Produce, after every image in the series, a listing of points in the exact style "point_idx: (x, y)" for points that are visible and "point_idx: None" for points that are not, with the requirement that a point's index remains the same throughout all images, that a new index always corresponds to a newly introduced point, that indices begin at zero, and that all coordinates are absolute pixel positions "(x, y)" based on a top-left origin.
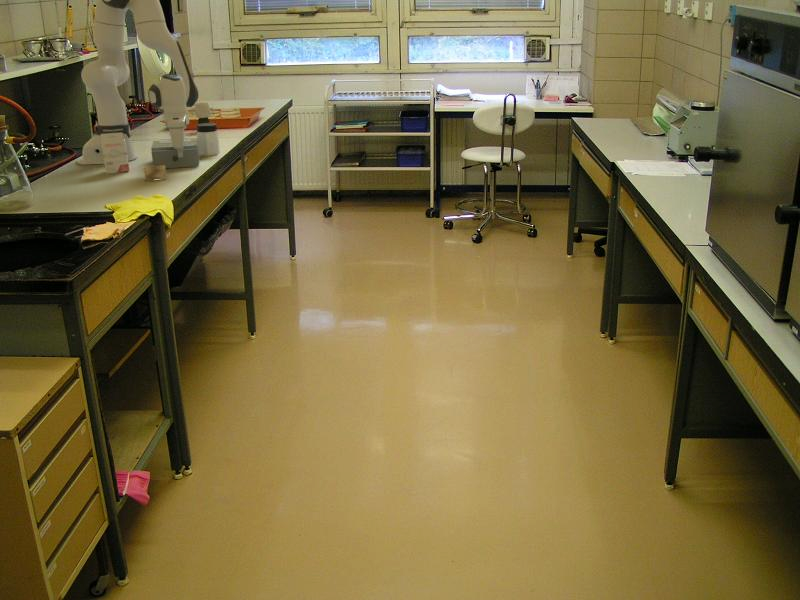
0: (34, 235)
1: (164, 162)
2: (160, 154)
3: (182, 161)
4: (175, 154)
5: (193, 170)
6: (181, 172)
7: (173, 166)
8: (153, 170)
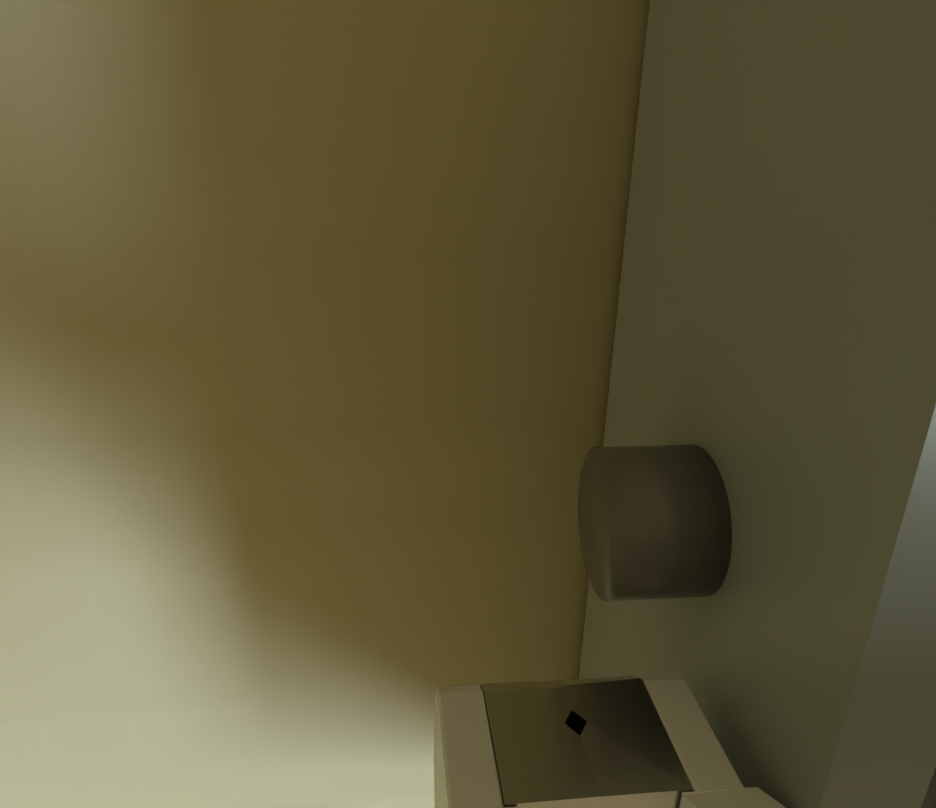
0: None
1: (699, 158)
2: (901, 18)
3: (631, 617)
4: (744, 614)
5: (241, 720)
6: (75, 533)
7: (619, 364)
8: None
